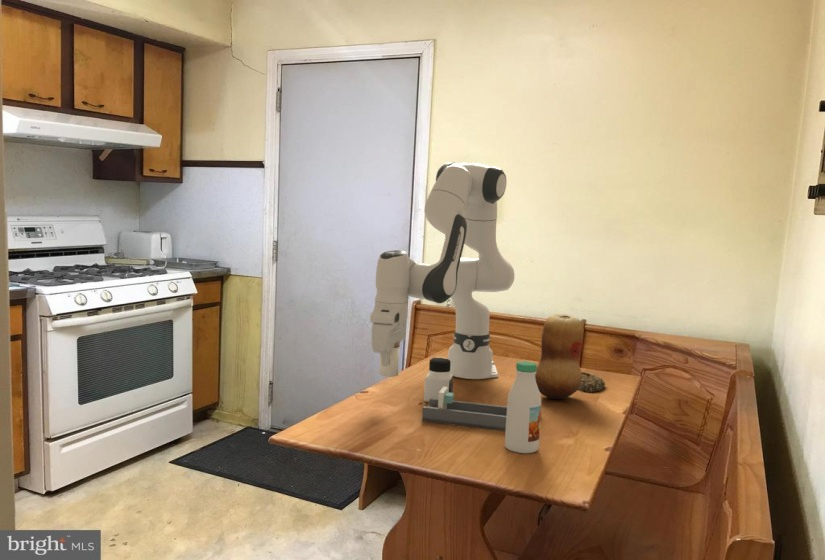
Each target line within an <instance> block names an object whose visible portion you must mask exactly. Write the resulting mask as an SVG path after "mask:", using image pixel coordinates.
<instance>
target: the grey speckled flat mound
mask: <svg viewBox="0 0 825 560" xmlns="http://www.w3.org/2000/svg"><path fill="white" fill-rule="evenodd" d="M581 373H582V379H581V385H580V387H579V389H578V390H577V391H579V392H581V393H595V392H599V391H601V390H603V388H605V385H606V382H604V379H603V378H602V377H599V376H597V375H595V374H594V373H589V372H585V371H581Z"/></svg>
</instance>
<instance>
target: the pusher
mask: <svg viewBox="0 0 825 560" xmlns="http://www.w3.org/2000/svg"><path fill="white" fill-rule="evenodd" d="M454 398H455V392H452V393H449V392H448V387H443V388H442V389H441V390H440V392H439V396H438V408H443V409H447V403H450V404H452V402H453V401H455V399H454Z"/></svg>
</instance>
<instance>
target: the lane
mask: <svg viewBox="0 0 825 560" xmlns="http://www.w3.org/2000/svg"><path fill="white" fill-rule="evenodd" d="M421 411H422V414H421V415H422V417H421V421H422V422H428V423H435V424H442V425H451V426H452V425H453V426H459V427H468V428H475V429H477V428H478V429H483V430H484V429H486V430H493V431H501V432H502V431H503V432H505V431H506V415H507V405H497V404H495V405H494V404H487V403H477V402H469V401H459V400H454V401H453V402H452V404H450V403H447V409H443V408H438V399H435V398H430V399H429V402H428V406H426V405H425V406H424V405H423V406H422V410H421Z"/></svg>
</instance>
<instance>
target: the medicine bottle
mask: <svg viewBox="0 0 825 560" xmlns="http://www.w3.org/2000/svg"><path fill="white" fill-rule="evenodd" d="M450 365H451V361H450V360H449V359H448V357H447V358H446V357H437V356H436V357H433V358H430V359H429V365H428V366H429V368H428V373H427V375H426V376H425V377H424V392H423V396H424V397H423V401H424V403H426V402H427V403H429V399H430V398H435V399H438V396H439V392H440V390H441V389H442V388H443V387H448V392H449V393H453V390H454V389H453V387H454V376H453V374H450Z"/></svg>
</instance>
